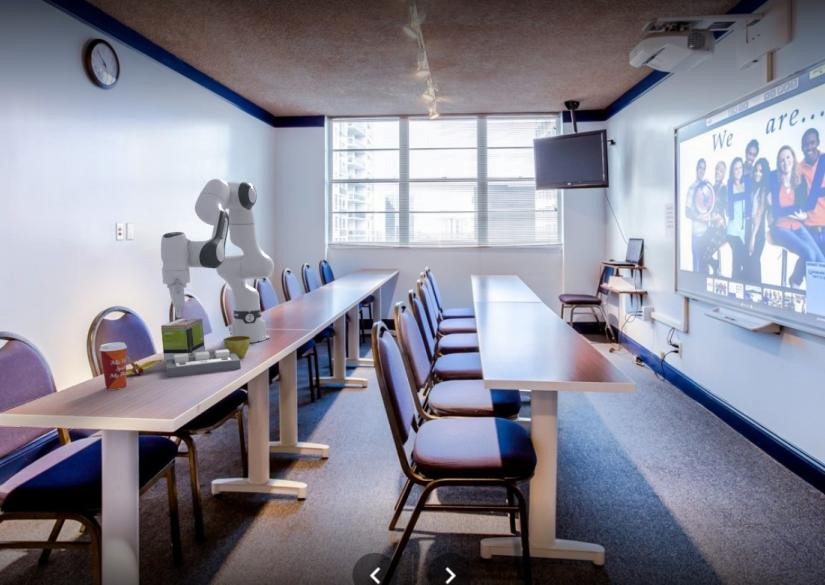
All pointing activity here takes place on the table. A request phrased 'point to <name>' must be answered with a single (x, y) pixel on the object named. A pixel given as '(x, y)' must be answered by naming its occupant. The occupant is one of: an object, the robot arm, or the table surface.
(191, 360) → the button board
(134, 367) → the origami crane
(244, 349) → the flower pot
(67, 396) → the table surface
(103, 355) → the paper cup
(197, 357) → the button middle
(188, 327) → the tea box
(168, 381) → the table surface
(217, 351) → the button
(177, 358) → the button
